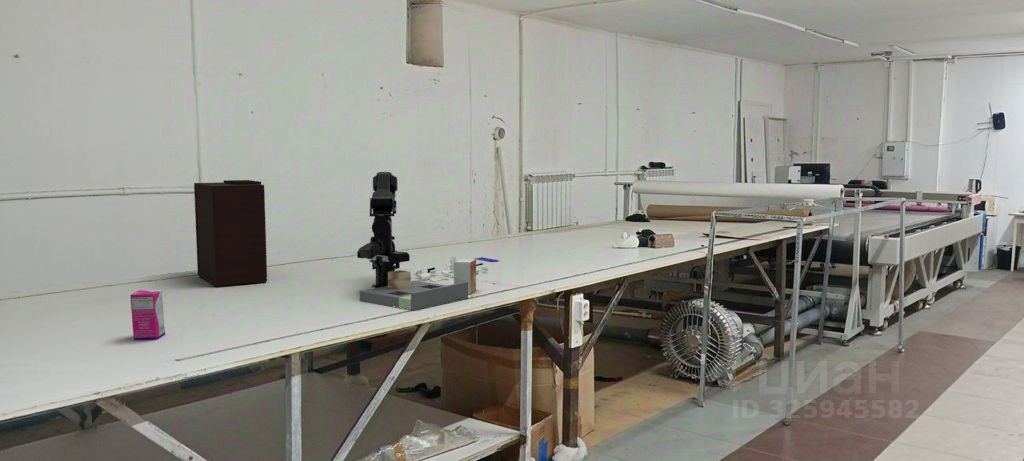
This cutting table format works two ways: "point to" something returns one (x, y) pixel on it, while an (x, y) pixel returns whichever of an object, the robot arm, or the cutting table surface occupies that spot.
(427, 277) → the miniature set
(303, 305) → the cutting table surface
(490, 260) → the booklet
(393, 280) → the maple block
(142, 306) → the supplement box
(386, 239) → the robot arm
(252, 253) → the tall dark brown box
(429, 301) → the board
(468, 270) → the small box
